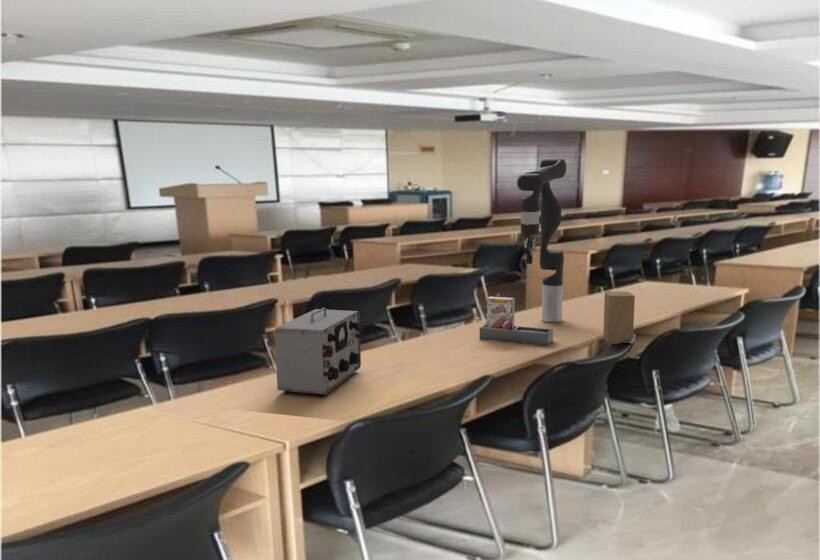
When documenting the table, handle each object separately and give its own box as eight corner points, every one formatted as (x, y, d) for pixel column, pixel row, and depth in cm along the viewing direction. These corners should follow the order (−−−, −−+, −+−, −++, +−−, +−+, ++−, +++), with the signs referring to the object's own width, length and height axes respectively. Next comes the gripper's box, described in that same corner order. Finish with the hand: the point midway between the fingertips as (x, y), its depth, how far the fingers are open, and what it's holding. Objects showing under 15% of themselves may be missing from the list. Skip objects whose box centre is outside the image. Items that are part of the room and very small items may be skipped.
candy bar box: (485, 336, 280) (485, 298, 278) (488, 333, 285) (488, 296, 282) (511, 338, 276) (512, 299, 274) (514, 335, 281) (514, 297, 278)
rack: (486, 334, 288) (486, 322, 287) (552, 341, 275) (553, 328, 274) (479, 339, 280) (479, 326, 279) (547, 345, 268) (548, 333, 267)
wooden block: (627, 338, 278) (629, 291, 275) (633, 344, 268) (635, 295, 265) (603, 338, 279) (604, 291, 276) (607, 344, 269) (609, 295, 266)
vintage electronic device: (330, 400, 207) (327, 322, 203) (277, 395, 212) (274, 318, 208) (366, 371, 237) (364, 302, 233) (319, 367, 242) (317, 300, 238)
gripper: (525, 220, 283) (525, 260, 286) (516, 223, 272) (516, 265, 275) (543, 221, 280) (542, 261, 283) (534, 224, 268) (533, 266, 271)
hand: (529, 263), depth 279 cm, fingers closed
